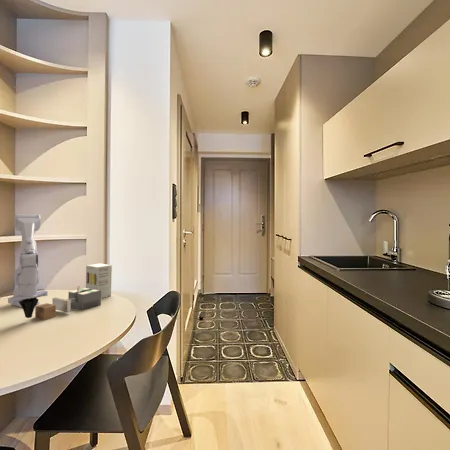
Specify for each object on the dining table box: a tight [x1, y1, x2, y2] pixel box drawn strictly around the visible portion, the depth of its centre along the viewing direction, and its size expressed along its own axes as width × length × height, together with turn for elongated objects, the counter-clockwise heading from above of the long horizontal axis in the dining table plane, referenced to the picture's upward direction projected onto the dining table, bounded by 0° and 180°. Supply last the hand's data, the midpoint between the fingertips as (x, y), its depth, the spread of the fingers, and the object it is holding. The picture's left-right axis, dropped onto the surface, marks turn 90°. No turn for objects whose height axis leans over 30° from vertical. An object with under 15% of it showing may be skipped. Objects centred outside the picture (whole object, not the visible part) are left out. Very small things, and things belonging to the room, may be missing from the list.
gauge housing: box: [67, 287, 102, 311], centre depth 150 cm, size 10×10×7 cm
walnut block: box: [34, 302, 57, 321], centre depth 133 cm, size 6×5×5 cm
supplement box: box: [85, 262, 113, 299], centre depth 167 cm, size 10×9×17 cm
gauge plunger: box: [51, 285, 81, 313], centre depth 143 cm, size 11×10×9 cm
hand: (28, 317), depth 126 cm, fingers closed
